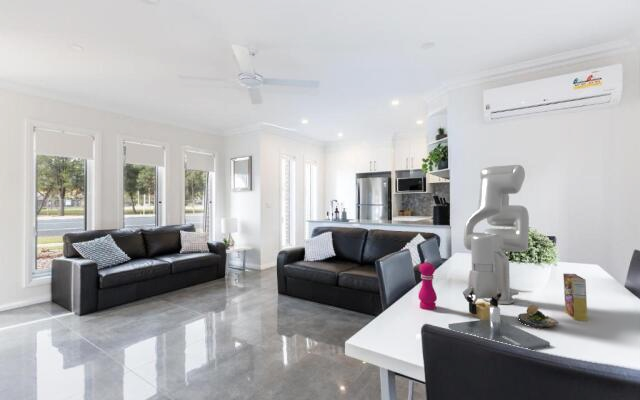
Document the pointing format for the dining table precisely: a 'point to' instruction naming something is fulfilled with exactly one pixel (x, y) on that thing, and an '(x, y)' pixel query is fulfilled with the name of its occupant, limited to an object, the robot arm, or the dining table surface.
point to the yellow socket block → (482, 310)
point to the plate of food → (536, 318)
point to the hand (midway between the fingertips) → (483, 312)
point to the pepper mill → (427, 287)
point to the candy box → (575, 296)
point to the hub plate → (505, 331)
